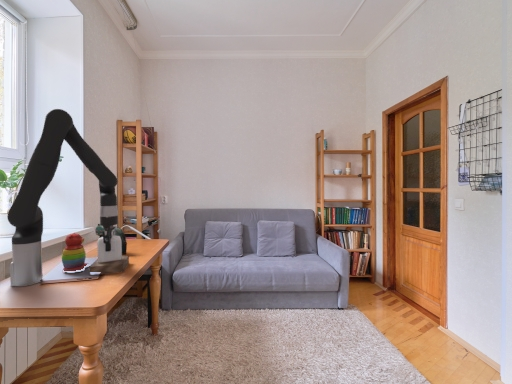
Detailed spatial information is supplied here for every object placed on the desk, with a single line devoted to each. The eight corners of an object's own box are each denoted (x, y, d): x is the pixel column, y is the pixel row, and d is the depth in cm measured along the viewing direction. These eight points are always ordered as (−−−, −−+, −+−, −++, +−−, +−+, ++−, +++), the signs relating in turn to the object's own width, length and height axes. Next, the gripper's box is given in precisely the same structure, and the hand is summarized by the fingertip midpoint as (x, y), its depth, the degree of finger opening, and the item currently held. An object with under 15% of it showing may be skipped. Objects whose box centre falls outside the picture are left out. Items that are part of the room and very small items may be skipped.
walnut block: (89, 275, 114) (88, 266, 114) (98, 266, 127) (98, 258, 127) (123, 272, 118) (123, 263, 118) (128, 263, 132) (128, 255, 132)
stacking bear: (82, 272, 118) (81, 235, 117) (57, 275, 115) (56, 236, 115) (91, 265, 128) (90, 231, 128) (68, 267, 126) (67, 232, 125)
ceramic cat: (94, 253, 151) (93, 220, 151) (104, 251, 158) (103, 219, 157) (121, 256, 146) (120, 221, 145) (129, 253, 152) (129, 220, 151)
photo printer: (121, 257, 127) (120, 233, 127) (122, 260, 124) (121, 235, 123) (97, 261, 122) (96, 236, 121) (97, 263, 118) (96, 237, 118)
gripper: (104, 213, 128) (105, 246, 128) (95, 217, 114) (96, 254, 115) (120, 213, 130) (121, 245, 131) (114, 216, 116) (115, 252, 117)
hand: (109, 249), depth 123 cm, fingers open, 5 cm apart
